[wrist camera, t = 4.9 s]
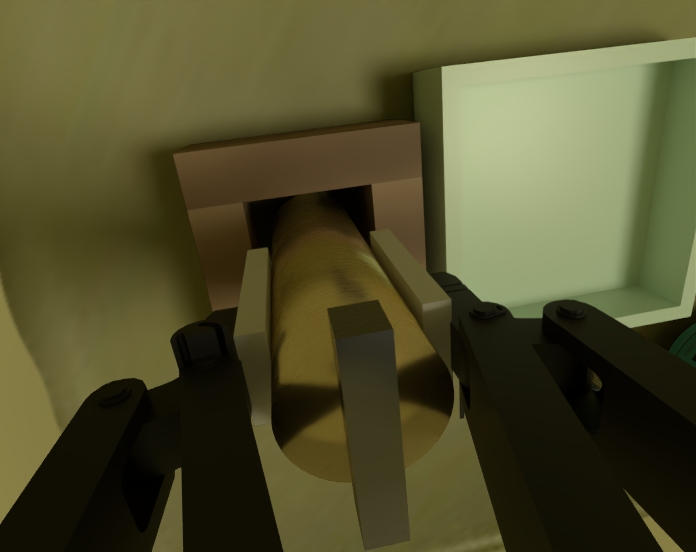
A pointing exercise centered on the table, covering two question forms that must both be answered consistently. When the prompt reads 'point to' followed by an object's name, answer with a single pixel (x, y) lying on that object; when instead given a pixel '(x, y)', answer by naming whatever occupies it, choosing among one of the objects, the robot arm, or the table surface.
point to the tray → (565, 179)
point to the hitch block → (298, 189)
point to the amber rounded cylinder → (350, 366)
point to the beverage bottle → (686, 346)
